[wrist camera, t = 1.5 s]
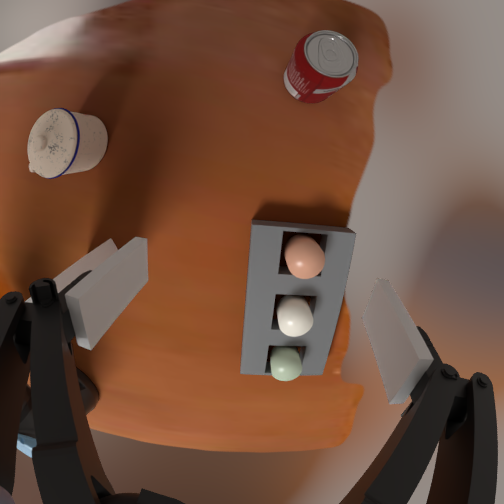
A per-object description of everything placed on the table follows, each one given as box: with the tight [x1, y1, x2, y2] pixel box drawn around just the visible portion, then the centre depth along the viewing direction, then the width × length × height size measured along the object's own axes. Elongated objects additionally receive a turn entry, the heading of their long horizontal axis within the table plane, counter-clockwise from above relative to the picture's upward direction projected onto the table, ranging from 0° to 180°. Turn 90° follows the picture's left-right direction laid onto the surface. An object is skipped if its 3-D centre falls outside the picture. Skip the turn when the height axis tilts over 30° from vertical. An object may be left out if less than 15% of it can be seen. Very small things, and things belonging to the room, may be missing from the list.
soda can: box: [284, 30, 358, 103], centre depth 27 cm, size 7×7×12 cm
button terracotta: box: [284, 234, 325, 279], centre depth 37 cm, size 5×5×4 cm
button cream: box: [276, 295, 313, 337], centre depth 39 cm, size 5×5×4 cm
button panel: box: [240, 220, 356, 375], centre depth 41 cm, size 25×14×3 cm, turn 176°
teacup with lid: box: [28, 108, 108, 179], centre depth 29 cm, size 12×9×12 cm
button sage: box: [270, 346, 302, 381], centre depth 42 cm, size 5×5×4 cm
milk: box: [25, 238, 118, 303], centre depth 30 cm, size 6×6×22 cm
